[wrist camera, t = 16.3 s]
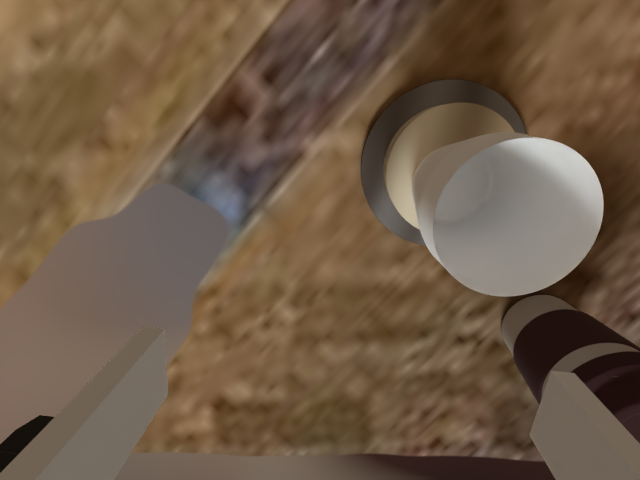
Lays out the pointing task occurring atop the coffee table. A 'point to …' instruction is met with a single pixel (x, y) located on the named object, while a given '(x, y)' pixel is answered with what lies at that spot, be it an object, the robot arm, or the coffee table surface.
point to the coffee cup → (575, 354)
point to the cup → (507, 211)
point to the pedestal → (424, 142)
